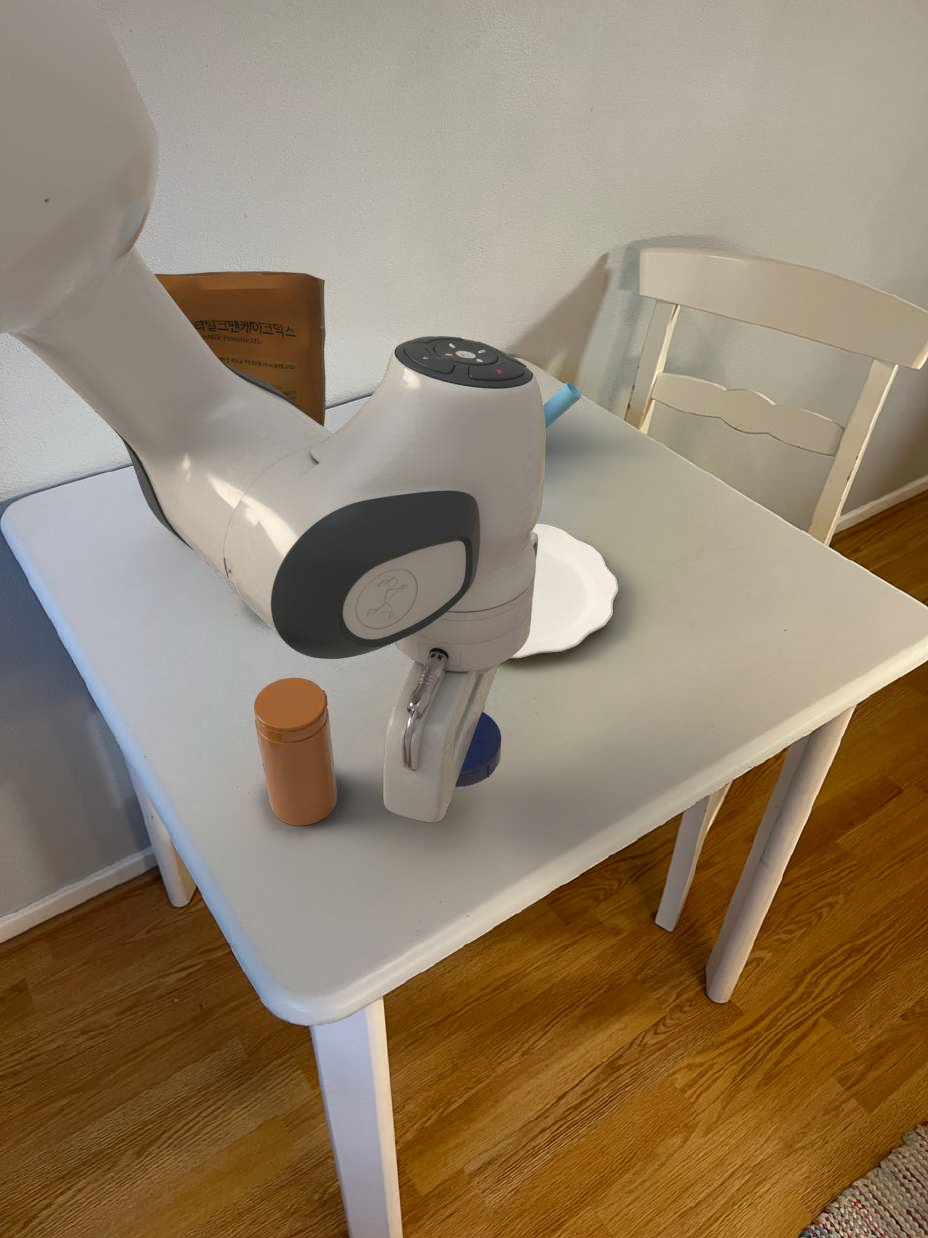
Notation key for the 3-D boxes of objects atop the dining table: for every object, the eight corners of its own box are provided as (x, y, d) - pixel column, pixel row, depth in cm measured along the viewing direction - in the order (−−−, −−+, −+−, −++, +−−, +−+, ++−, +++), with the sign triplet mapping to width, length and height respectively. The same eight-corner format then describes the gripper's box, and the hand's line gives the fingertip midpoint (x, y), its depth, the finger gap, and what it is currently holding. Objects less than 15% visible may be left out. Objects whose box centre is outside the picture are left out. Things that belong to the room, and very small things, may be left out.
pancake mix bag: (338, 567, 89) (314, 285, 71) (151, 551, 90) (81, 270, 72) (351, 528, 94) (332, 256, 76) (175, 514, 95) (114, 242, 77)
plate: (628, 551, 92) (630, 538, 91) (595, 689, 77) (597, 675, 76) (434, 516, 96) (434, 503, 95) (366, 641, 81) (365, 627, 80)
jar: (280, 835, 65) (263, 738, 58) (262, 785, 68) (244, 688, 62) (346, 812, 67) (337, 716, 60) (325, 765, 70) (314, 668, 63)
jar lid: (519, 754, 63) (520, 738, 62) (456, 803, 60) (456, 787, 59) (458, 708, 67) (458, 692, 65) (395, 752, 63) (394, 736, 62)
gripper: (463, 737, 46) (459, 889, 55) (544, 521, 61) (530, 668, 70) (348, 711, 47) (362, 864, 56) (455, 505, 62) (452, 652, 71)
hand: (456, 753), depth 63 cm, fingers closed on jar lid, 6 cm apart
